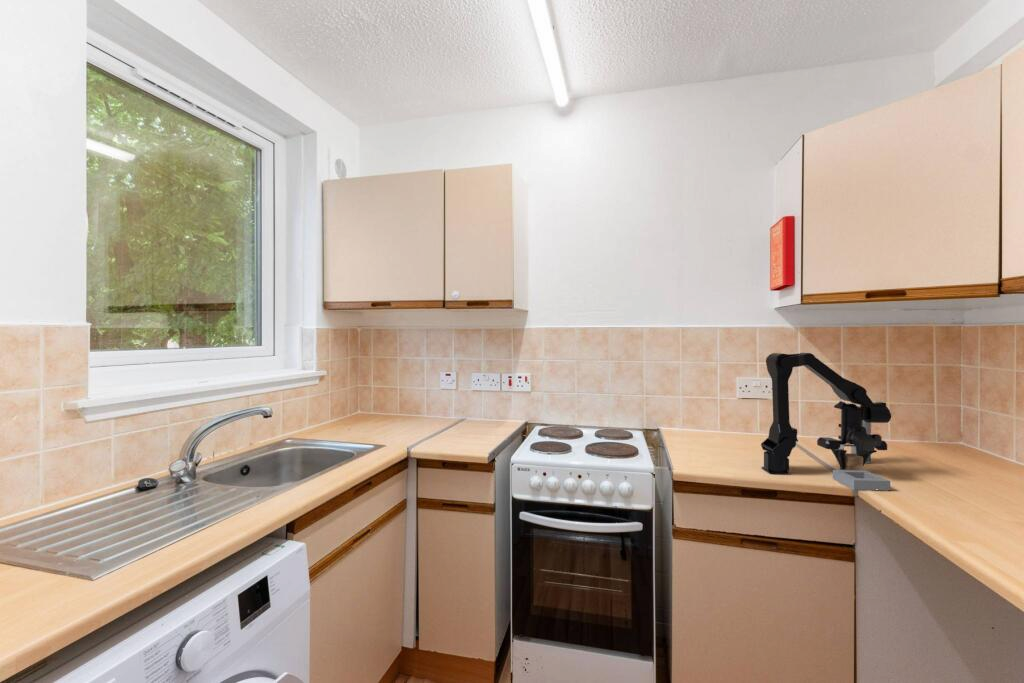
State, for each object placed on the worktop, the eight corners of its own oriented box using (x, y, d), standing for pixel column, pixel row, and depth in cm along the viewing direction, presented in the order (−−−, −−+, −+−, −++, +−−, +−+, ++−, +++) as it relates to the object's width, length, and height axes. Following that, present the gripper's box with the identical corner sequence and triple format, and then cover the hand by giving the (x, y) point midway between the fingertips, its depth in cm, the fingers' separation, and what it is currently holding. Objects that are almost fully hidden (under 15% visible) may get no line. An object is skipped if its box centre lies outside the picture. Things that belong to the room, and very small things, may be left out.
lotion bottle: (874, 464, 157) (874, 407, 157) (856, 463, 158) (856, 407, 158) (865, 459, 163) (865, 405, 163) (847, 459, 164) (847, 404, 164)
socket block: (854, 490, 132) (854, 480, 132) (832, 479, 142) (832, 469, 142) (890, 491, 131) (890, 481, 131) (866, 480, 141) (866, 470, 141)
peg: (848, 475, 146) (848, 457, 146) (840, 471, 150) (840, 453, 150) (863, 475, 145) (863, 457, 145) (853, 471, 150) (854, 453, 150)
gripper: (837, 427, 140) (837, 476, 141) (901, 428, 139) (900, 477, 139) (816, 420, 151) (816, 466, 152) (875, 421, 150) (874, 467, 150)
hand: (851, 469), depth 148 cm, fingers open, 5 cm apart
